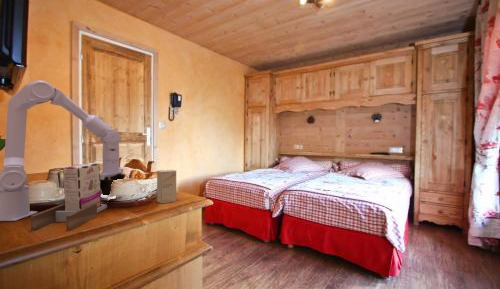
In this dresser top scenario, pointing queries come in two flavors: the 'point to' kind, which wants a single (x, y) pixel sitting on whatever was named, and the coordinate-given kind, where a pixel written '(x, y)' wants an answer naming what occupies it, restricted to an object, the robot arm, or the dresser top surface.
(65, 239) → the dresser top surface
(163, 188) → the skincare box
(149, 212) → the dresser top surface
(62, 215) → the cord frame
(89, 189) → the candy bar box
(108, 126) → the robot arm
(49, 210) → the shelf lane
